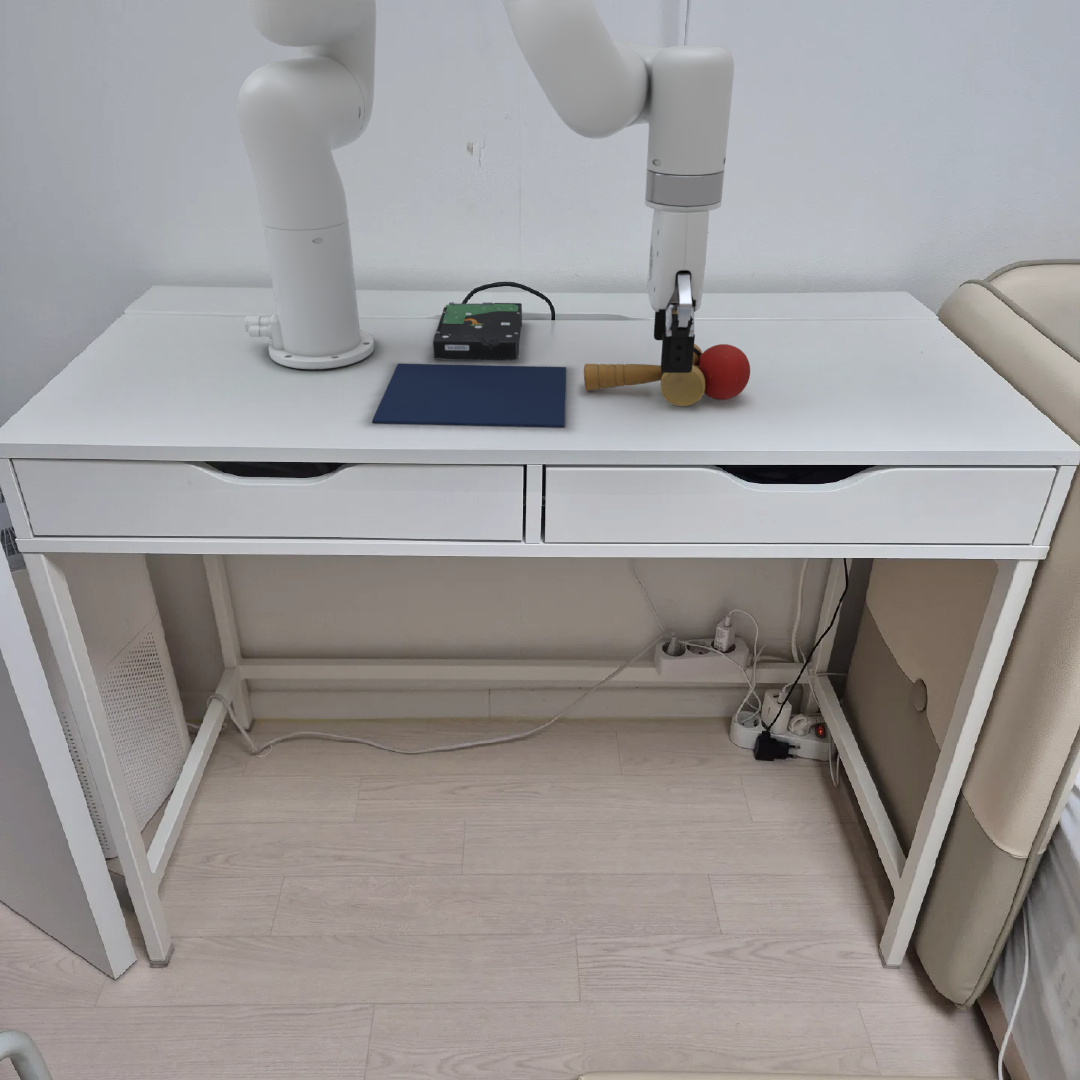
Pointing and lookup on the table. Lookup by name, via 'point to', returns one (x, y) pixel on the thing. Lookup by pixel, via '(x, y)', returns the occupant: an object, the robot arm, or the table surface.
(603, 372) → the kendama
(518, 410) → the napkin
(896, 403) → the table surface
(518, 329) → the disk drive
